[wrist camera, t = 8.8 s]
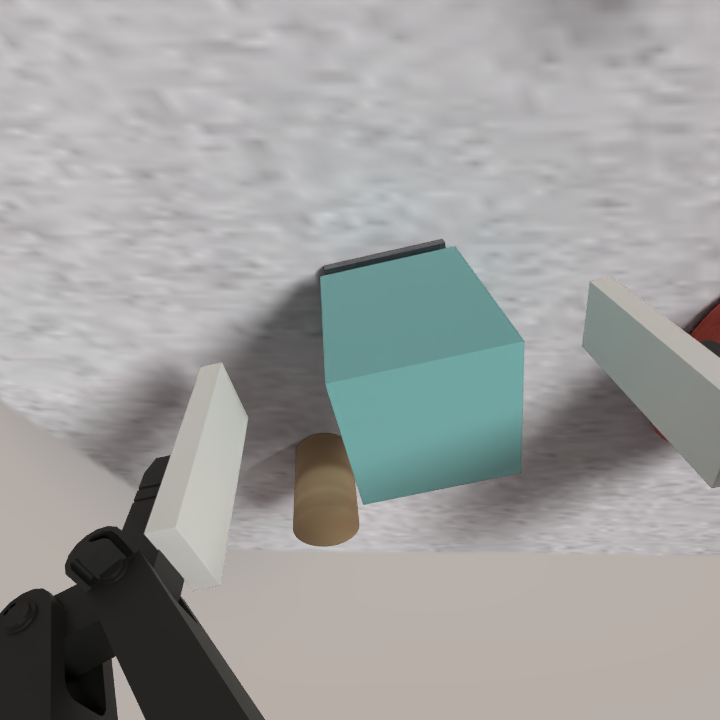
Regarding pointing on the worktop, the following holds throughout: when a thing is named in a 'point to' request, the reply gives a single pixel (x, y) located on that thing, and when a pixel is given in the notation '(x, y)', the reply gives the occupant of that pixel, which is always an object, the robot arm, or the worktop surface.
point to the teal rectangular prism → (421, 375)
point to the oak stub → (324, 492)
